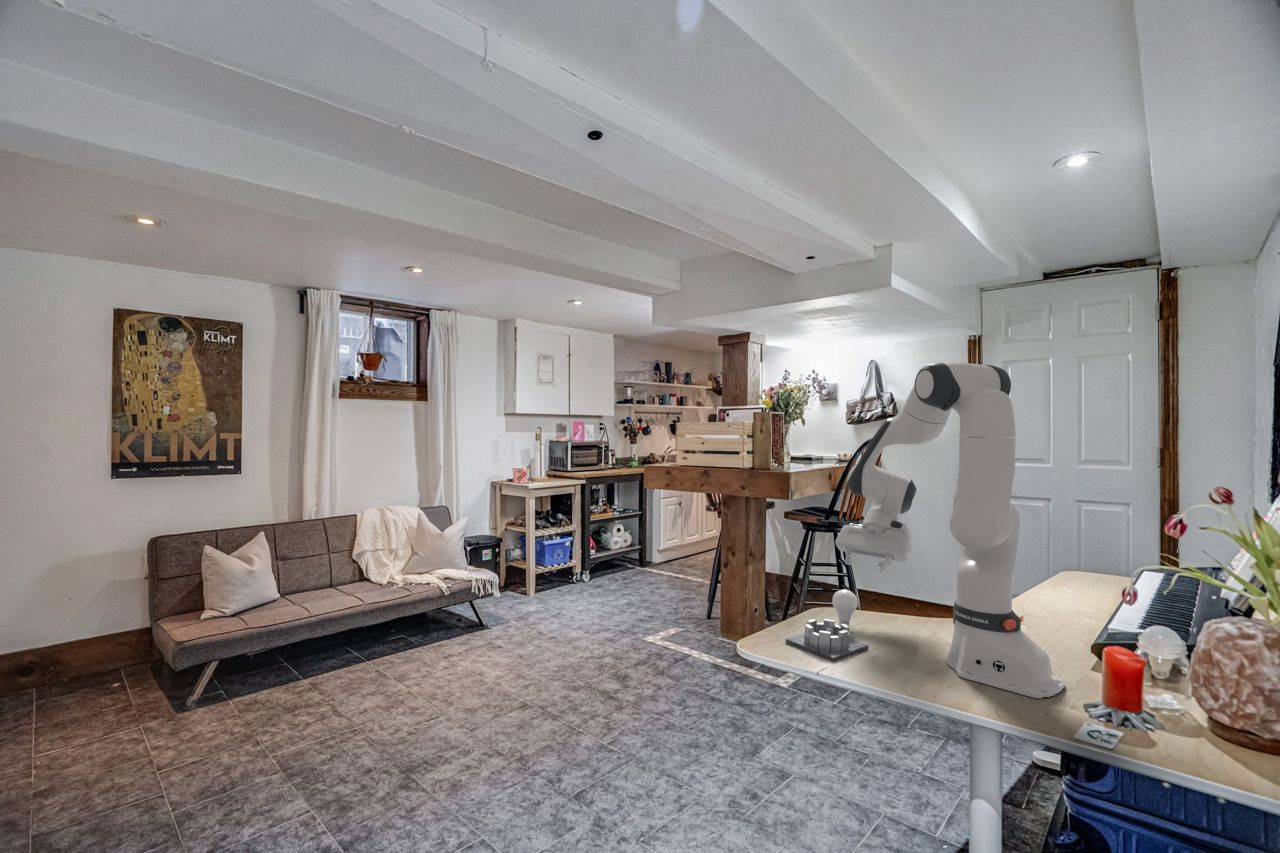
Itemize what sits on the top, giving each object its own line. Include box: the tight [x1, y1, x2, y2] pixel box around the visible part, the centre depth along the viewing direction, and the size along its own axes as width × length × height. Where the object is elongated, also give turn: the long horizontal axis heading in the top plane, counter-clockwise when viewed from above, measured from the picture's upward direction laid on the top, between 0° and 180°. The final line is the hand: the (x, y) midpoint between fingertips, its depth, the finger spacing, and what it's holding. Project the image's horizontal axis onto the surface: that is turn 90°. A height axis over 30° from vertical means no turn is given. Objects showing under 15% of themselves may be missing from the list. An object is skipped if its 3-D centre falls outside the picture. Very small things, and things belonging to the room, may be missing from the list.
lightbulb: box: [831, 588, 859, 628], centre depth 158 cm, size 6×6×11 cm
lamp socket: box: [785, 618, 869, 663], centre depth 147 cm, size 14×14×5 cm
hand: (863, 566), depth 166 cm, fingers open, 8 cm apart
